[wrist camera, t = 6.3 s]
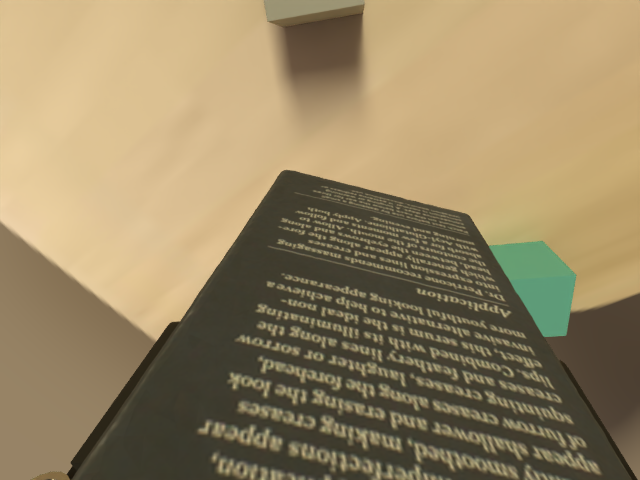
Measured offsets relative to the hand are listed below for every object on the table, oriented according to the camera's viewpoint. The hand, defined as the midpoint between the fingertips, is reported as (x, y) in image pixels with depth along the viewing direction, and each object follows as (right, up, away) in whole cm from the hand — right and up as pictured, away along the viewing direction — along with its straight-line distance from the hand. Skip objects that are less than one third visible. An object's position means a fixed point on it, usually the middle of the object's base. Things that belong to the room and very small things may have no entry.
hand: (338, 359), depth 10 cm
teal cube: (+14, +1, +20) cm, 25 cm away
